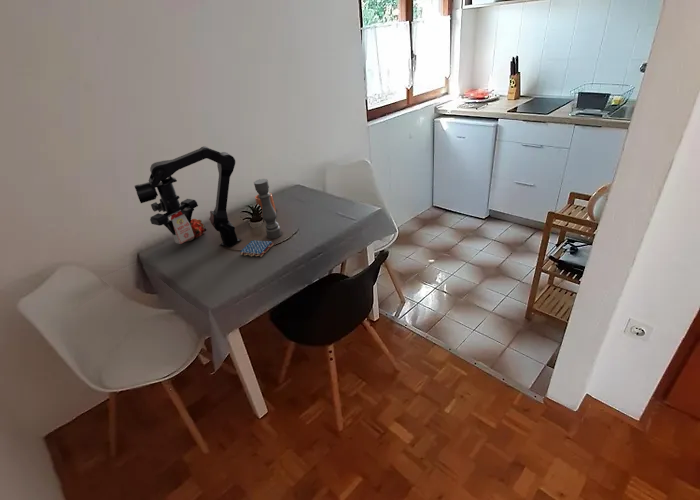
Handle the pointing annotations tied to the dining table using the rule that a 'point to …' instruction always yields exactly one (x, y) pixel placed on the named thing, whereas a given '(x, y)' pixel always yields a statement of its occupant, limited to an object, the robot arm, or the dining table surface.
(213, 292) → the dining table surface
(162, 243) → the dining table surface
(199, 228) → the dragon fruit
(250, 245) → the woven mat
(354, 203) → the dining table surface
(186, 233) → the white printed carton
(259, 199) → the terracotta cup
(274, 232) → the candle holder
